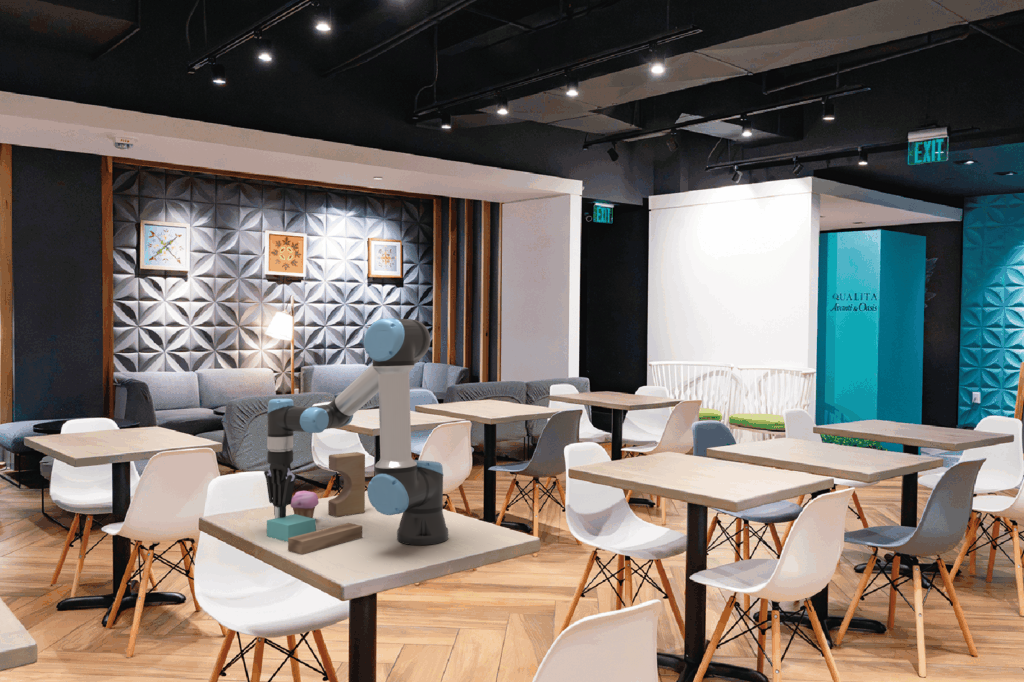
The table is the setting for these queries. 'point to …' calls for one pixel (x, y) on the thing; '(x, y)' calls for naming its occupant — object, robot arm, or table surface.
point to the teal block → (290, 526)
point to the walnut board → (324, 538)
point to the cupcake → (304, 503)
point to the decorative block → (348, 484)
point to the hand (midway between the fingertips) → (279, 527)
